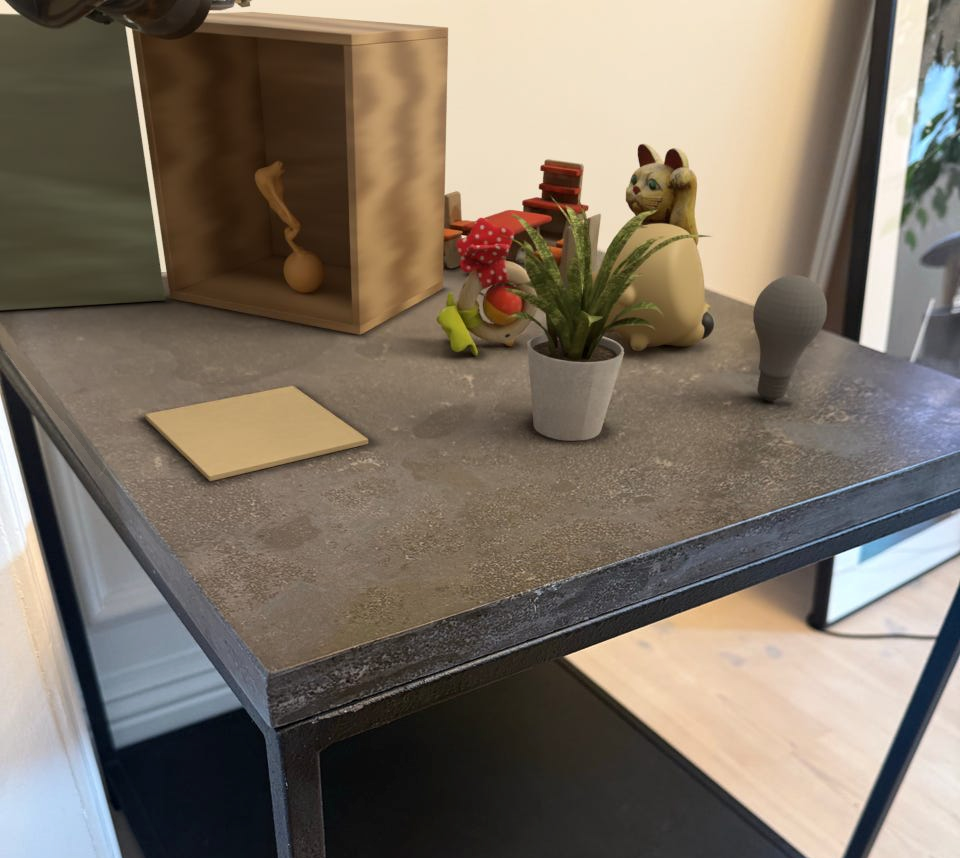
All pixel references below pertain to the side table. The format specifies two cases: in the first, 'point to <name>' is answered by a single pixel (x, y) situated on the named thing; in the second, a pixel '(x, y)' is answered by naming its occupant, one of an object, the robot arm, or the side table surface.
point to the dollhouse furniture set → (533, 218)
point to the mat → (253, 432)
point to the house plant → (578, 327)
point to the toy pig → (663, 291)
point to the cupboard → (299, 162)
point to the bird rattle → (487, 268)
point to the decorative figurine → (664, 189)
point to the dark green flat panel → (72, 170)
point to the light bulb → (786, 329)
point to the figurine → (290, 233)
